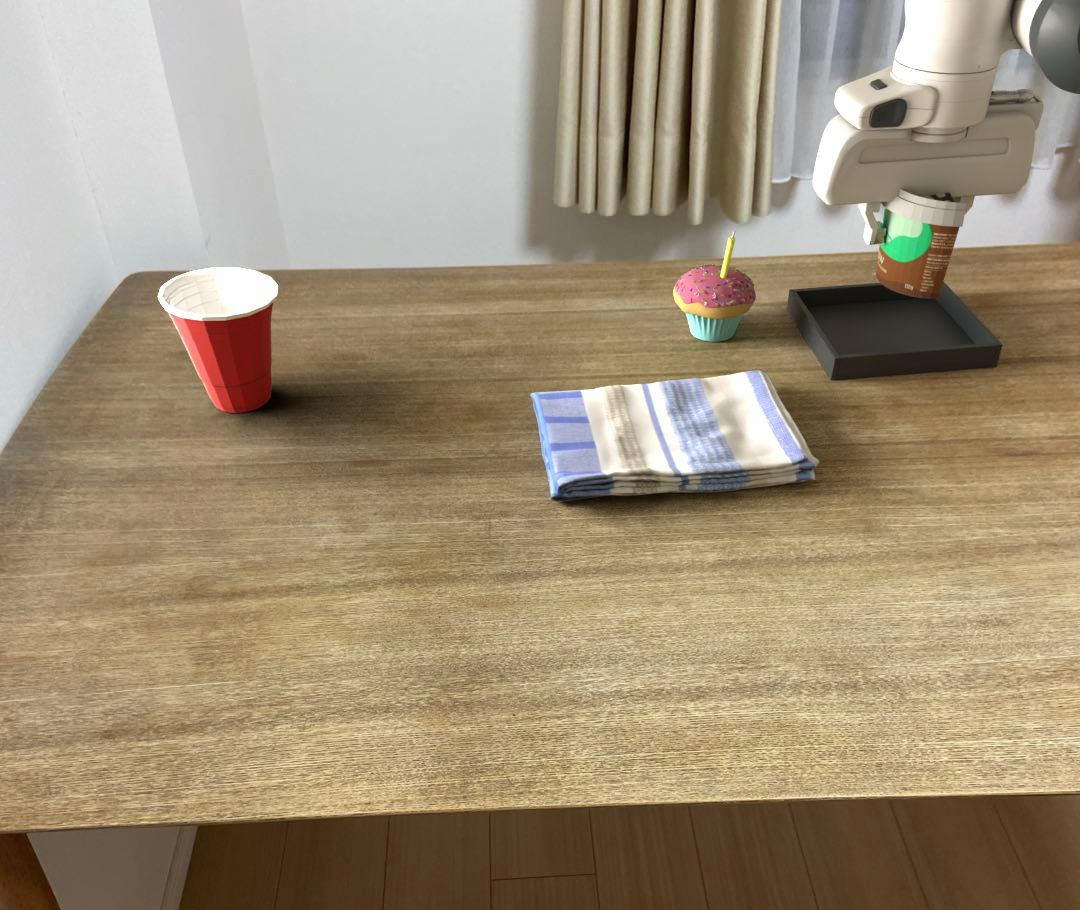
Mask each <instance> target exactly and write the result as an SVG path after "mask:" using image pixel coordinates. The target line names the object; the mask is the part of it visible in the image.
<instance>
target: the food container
mask: <svg viewBox="0 0 1080 910" xmlns="http://www.w3.org/2000/svg"><path fill="white" fill-rule="evenodd" d="M881 206H883V213H882V222H881V223H882V225H884V226H885V227H886V228H887V229H886V234H885V236H884V243H883V244H878V245H879V246H878V255H877V262H876V270H875V277H876V279H877V281H878V283H881V284H882V285H884V286H885V287H887V288H889V289H891V290H893V291H895V292H898V293H901V294H904V295H908V296H913V297H918V298H927V299H939V295H940V292H941V288H942V285H943V282H945V278H946V275H947V271H948V268H949V264H950V260H951V257H952V254H953V251H954V249H955V244H956V241H957V238H958V233H959V232H960V231H959V230H960V228H962V227H963V226H964V221H965V215H966V214H965V206H966V203H959V202H954V200H953V198H952V196H951V194H950V193H943V194H937V195H931V196H916V195H913V194H910V193H908V192H906V191H904V190H902V189H901V190H900V193H899V196H896V197H895V199H894V200H893V201H892V202H881Z"/></svg>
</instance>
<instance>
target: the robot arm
mask: <svg viewBox="0 0 1080 910" xmlns="http://www.w3.org/2000/svg"><path fill="white" fill-rule="evenodd" d="M904 16H905V23H904V30H903V33H902V36H901V39H900V40H899V43H898V45H897V47H896V50H895V53H894V57H893V63H892V64H891V65H889V66H887V67H885V68H882V69H880V70H878V71H876V72H873V73H871V74H868V75H866V76H863V77H861V78H858V79H856V80H852V81H850V82H848V83H845V84H843V85H841V86H839V87H838V88H837V90H836V92H835V94H834V107H835V109H836V111H837V112H838V114H836V115H835V116H833V118H832V119H830V121H828V123H827V125H826V126H825V129H824V131H823V133H822V136H821V139H820V143H819V147H818V151H817V155H816V158H815V164H814V168H813V174H812V175H813V176H812V188H813V190H814V192H815V194H816V195H817V196H818V197H819V198H820V199H821V201H822V202H823V203H824V204H825V205H827V206H829V207H830V206H831V207H832V206H833V207H834V206H847V205H857V207H858V209H859V212H860V214H861V216H862V219H863V221H864V223H865V225H864V231H863V236H862V237H863V241H864V243H865V244H866V245H867V246H872V245H873V246H874V245H880V244H883V243H884V236H885V234H886V229H887V228H886V227H885V226H884V225H882V222H881V220H876V216H875V214H874V213H879V212H880V210H881V206H882V203H881V202H892V201H893V200H894V199H895V197H896V196H899V193H900V190H901V189H902V190H904V191H906V192H908V193H910V194H913V195H916V196H931V195H937V194H943V193H950V194H951V196H952V198H953V200H954V202H959V203H966V206H965V215H966V214H967V213H968V212H969V211H970V210H971V209H972V208H973V205H974V201H975V198H976V197H980V196H981V197H982V196H995V195H996V196H997V195H1010V194H1011V195H1012V194H1016V193H1018V192H1019V191H1020V190H1021V189H1022V188H1023V187H1024V186H1026V184H1027V182H1028V180H1029V178H1030V177H1029V176H1030V173H1031V167H1032V163H1033V157H1034V151H1035V150H1034V149H1035V142H1036V131H1037V130H1038V128H1039V127H1040V123H1041V119H1042V116H1043V112H1044V103H1043V99H1042V98H1041V96H1039V94H1036V93H1034V91H1033V90H1032V89H1031V88H1019V89H1016V90H1004V89H999V90H998V89H997V90H993V88H994V84H995V80H996V76H997V72H998V68H999V63H1000V60H1001V57H1002V56H1003V54H1004V53H1006V52H1007V51H1009V50H1024V51H1025V52H1027V54H1029V56H1031V57H1032V58H1033V59H1034V61H1035V62H1036V64H1037V65H1038V67H1039V69H1040V70H1041V72H1042V74H1043V75H1044V76H1045V77H1046V79H1047V80H1048V81H1049V82H1050V83H1051V84H1052V85H1053V86H1055V87H1057V88H1058V89H1059V90H1062V91H1065V92H1067V93H1071V94H1076V95H1080V0H904Z"/></svg>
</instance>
